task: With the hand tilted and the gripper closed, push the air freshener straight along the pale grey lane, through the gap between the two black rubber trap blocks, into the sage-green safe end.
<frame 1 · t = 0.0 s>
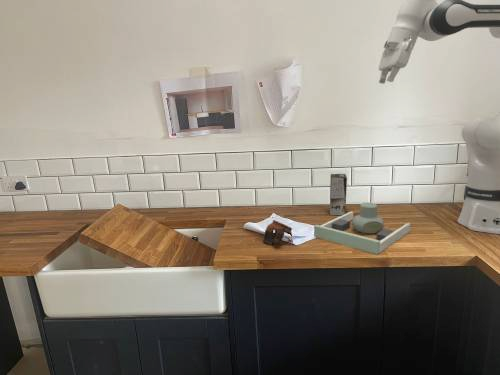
hand: (385, 82, 120), 52 cm above the worktop, tool tilted 20°, fingers open, 8 cm apart
air freshener: (367, 231, 125), on the worktop
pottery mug: (277, 242, 117), on the worktop
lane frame: (362, 233, 122), on the worktop
coffee box: (337, 212, 148), on the worktop
trap blocks: (362, 230, 122), in the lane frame
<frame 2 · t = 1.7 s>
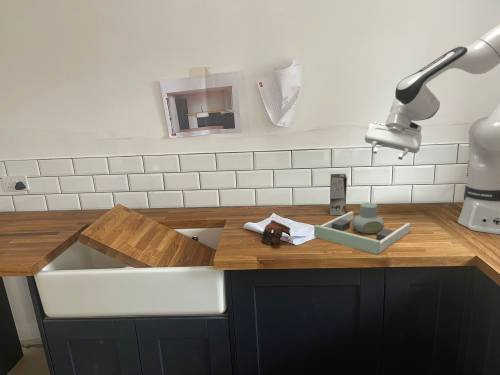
hand: (387, 155, 131), 26 cm above the worktop, tool tilted 40°, fingers open, 8 cm apart
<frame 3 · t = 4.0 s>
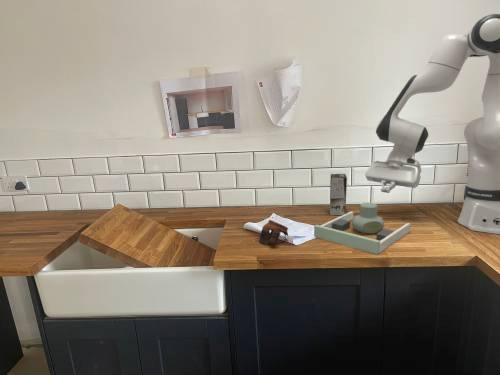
hand: (384, 191, 133), 12 cm above the worktop, tool tilted 45°, fingers closed
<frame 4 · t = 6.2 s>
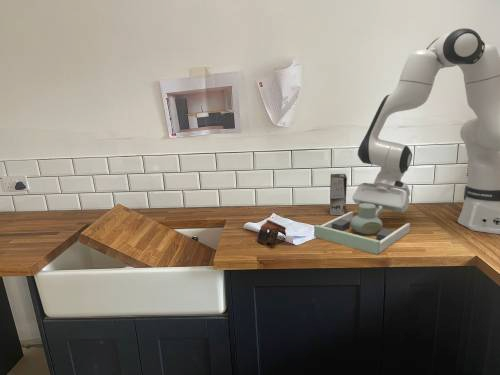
hand: (372, 216, 127), 4 cm above the worktop, tool tilted 45°, fingers closed, pressing on air freshener
air freshener: (365, 232, 124), on the worktop, touching gripper
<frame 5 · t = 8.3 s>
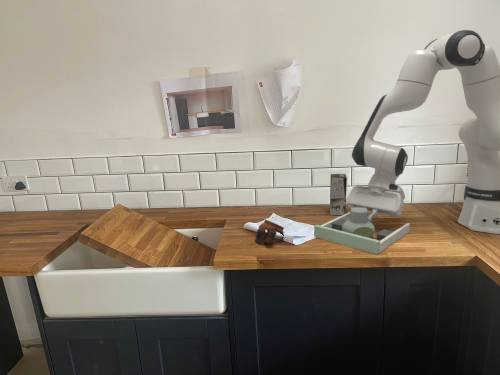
hand: (366, 220, 123), 4 cm above the worktop, tool tilted 45°, fingers closed
air freshener: (357, 237, 120), on the worktop
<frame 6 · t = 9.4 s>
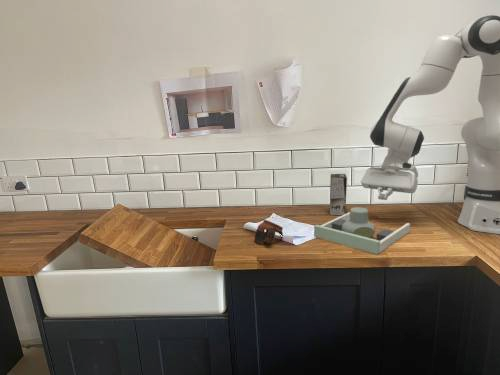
hand: (382, 198, 128), 10 cm above the worktop, tool tilted 45°, fingers closed
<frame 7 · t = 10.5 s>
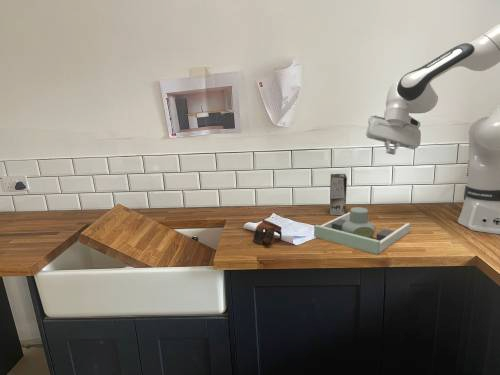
hand: (390, 153, 130), 26 cm above the worktop, tool tilted 30°, fingers closed
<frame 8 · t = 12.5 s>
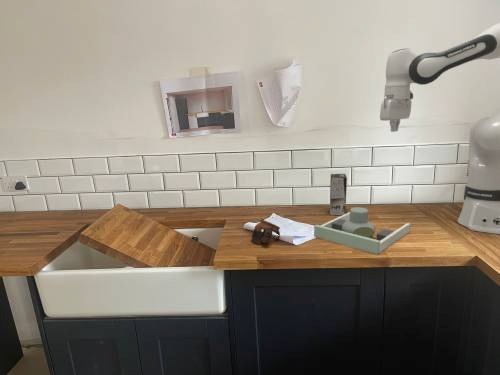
hand: (394, 131, 134), 34 cm above the worktop, tool pointing down, fingers closed
at the end: air freshener inside the target area (0.8 cm from its centre), on the worktop; air freshener tilted 0°; air freshener touching worktop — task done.
